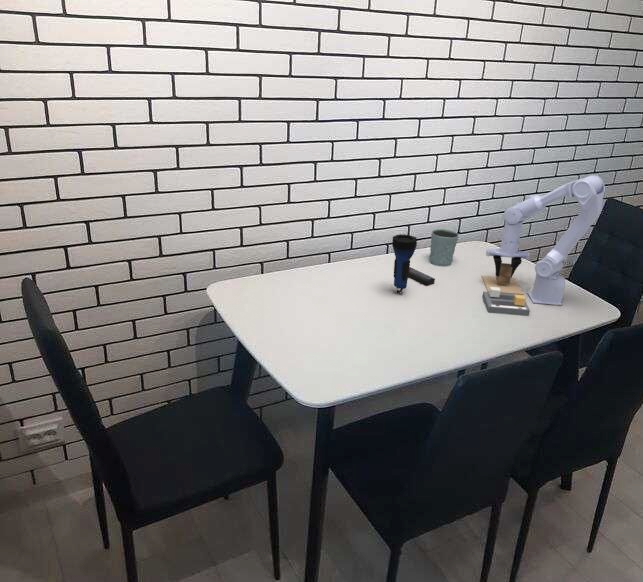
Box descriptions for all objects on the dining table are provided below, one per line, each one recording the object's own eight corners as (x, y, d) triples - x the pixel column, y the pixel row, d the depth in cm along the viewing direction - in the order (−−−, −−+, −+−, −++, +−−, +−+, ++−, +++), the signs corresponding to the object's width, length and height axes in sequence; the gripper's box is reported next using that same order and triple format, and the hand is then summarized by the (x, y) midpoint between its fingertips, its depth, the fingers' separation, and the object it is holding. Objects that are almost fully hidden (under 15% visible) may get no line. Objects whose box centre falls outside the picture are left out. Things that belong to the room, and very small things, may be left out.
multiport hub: (426, 287, 203) (426, 281, 202) (397, 273, 213) (398, 267, 213) (434, 284, 206) (435, 278, 205) (406, 271, 216) (406, 265, 215)
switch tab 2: (522, 302, 188) (523, 295, 187) (524, 305, 186) (525, 298, 185) (513, 301, 189) (514, 294, 188) (514, 305, 186) (516, 298, 185)
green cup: (423, 258, 227) (426, 229, 222) (445, 256, 231) (449, 228, 226) (436, 268, 219) (440, 238, 214) (459, 265, 222) (463, 236, 217)
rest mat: (514, 279, 212) (515, 278, 212) (522, 295, 199) (523, 293, 199) (481, 277, 213) (482, 275, 213) (487, 292, 200) (488, 291, 200)
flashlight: (385, 296, 194) (391, 240, 185) (388, 287, 201) (394, 232, 192) (409, 299, 192) (416, 243, 184) (411, 290, 199) (418, 235, 191)
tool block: (507, 279, 207) (510, 263, 205) (509, 283, 203) (512, 267, 201) (495, 278, 207) (498, 262, 205) (497, 282, 204) (500, 267, 201)
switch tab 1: (497, 294, 193) (499, 287, 192) (499, 297, 191) (500, 290, 190) (488, 293, 194) (490, 286, 193) (490, 296, 191) (491, 289, 190)
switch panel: (520, 300, 196) (522, 294, 195) (528, 315, 185) (530, 309, 184) (482, 296, 197) (483, 291, 196) (487, 312, 186) (488, 306, 185)
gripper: (529, 237, 202) (522, 273, 208) (487, 234, 203) (481, 270, 209) (534, 244, 196) (526, 281, 201) (490, 241, 197) (484, 277, 202)
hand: (503, 276), depth 205 cm, fingers closed on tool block, 4 cm apart
